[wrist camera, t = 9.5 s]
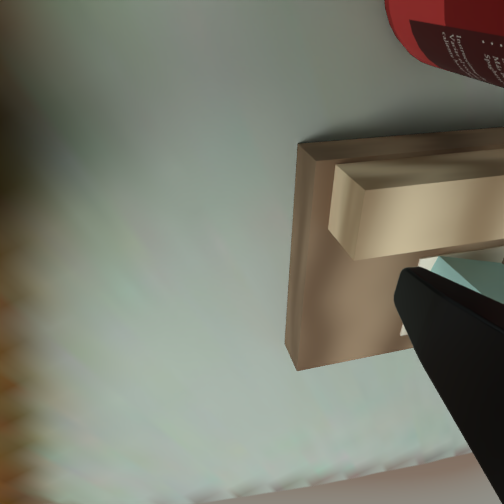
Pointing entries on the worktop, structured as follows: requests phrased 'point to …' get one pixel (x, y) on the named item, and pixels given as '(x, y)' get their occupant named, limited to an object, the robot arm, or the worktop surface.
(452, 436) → the worktop surface
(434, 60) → the canned food
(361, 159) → the baseplate
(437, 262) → the column
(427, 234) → the beam
